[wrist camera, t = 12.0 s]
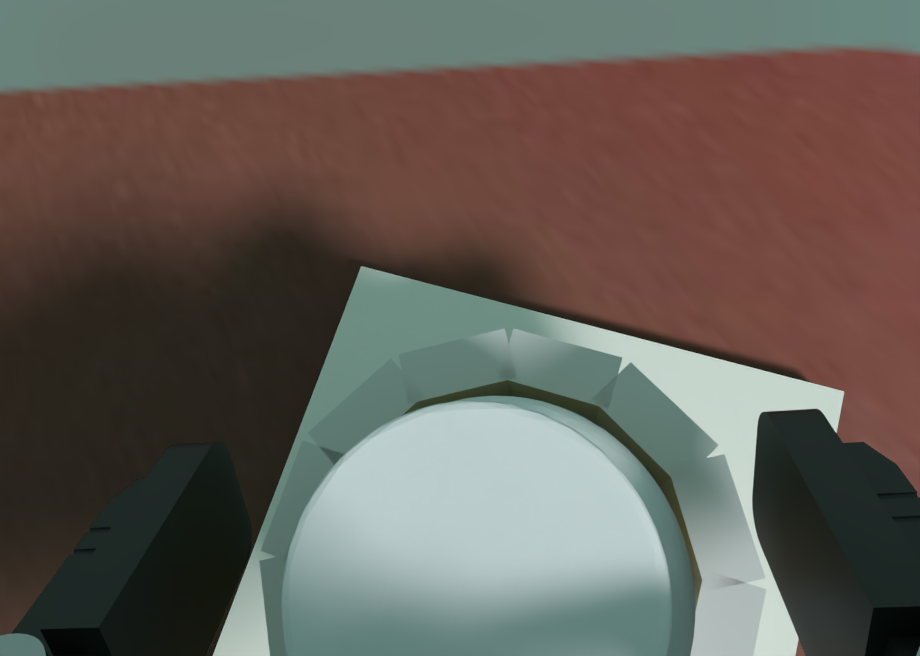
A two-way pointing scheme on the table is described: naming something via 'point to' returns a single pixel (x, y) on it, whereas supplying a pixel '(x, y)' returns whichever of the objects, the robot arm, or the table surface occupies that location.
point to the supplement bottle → (488, 542)
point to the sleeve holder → (562, 384)
